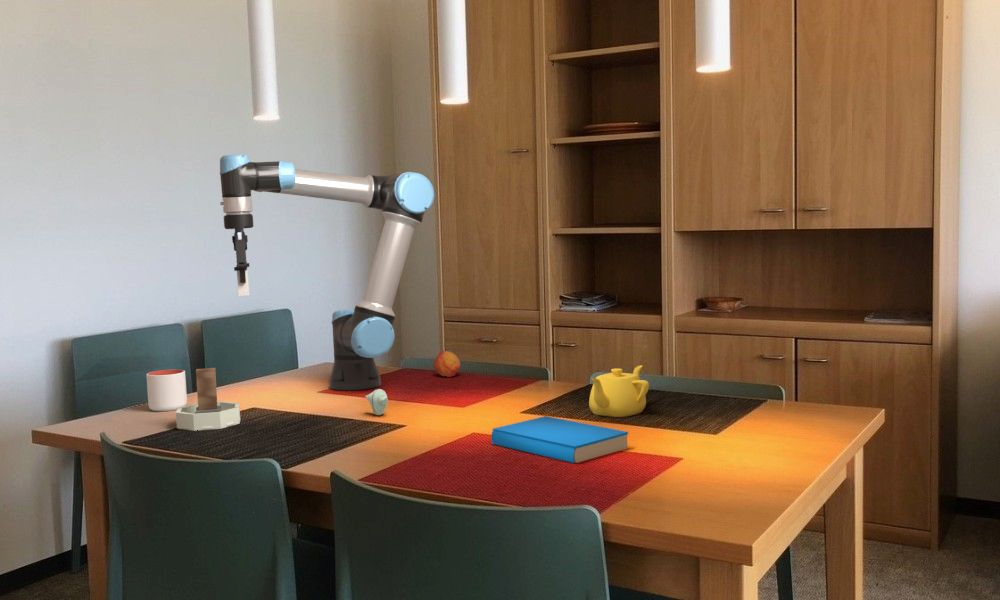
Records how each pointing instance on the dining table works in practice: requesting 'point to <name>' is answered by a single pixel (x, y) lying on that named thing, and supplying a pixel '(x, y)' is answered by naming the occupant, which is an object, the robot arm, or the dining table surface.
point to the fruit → (447, 364)
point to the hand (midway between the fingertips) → (244, 293)
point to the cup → (166, 390)
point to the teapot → (618, 393)
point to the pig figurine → (378, 401)
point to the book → (560, 439)
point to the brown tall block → (206, 389)
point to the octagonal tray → (208, 416)
